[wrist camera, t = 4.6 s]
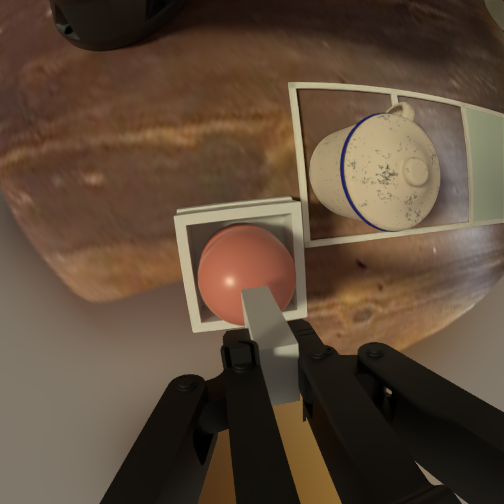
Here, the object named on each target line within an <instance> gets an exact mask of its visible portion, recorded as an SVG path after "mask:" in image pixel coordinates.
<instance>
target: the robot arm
mask: <svg viewBox="0 0 504 504" xmlns="http://www.w3.org/2000/svg"><path fill="white" fill-rule="evenodd" d="M49 1H50V6H51V10H52V14H53V18H54V22H55V25H56V27H57V29H58V31H59V32H60V34H61V35H62V36H63V37H65V38H66V39H67V40H68V41H69V42H70V43H71V44H73V45H74V46H76V47H79V48H81V49H85V50H93V51H101V50H110V49H115V48H119V47H123V46H126V45H129V44H132V43H134V42H136V41H139V40H141V39H143V38H145V37H147V36H148V35H150V34H152V33H154V32H155V31H157V30H158V29H160V28H161V27H162V26H164V25H165V24H166V23H167V22H168V21H169V20H171V19H172V18H173V17H174V16H175V15H176V13H177V12H178V11H179V10H180V9H181V7H182V6H183V4H184V2H185V1H186V0H49ZM241 298H242V306H243V314H244V322H245V329H238V330H230V331H226V333H225V334H224V336H223V346H222V347H221V350H220V351H221V356H222V362H223V368H224V371H223V372H222V373H221V374H220V375H219V376H217V377H215V378H213V379H210V380H207V381H205V380H204V379H203V378H202V377H200V376H199V375H193V374H189V375H182V376H179V377H177V378H175V379H173V380H172V381H171V382H170V383H169V385H168V387H167V388H166V390H165V391H164V393H163V395H162V397H161V398H160V400H159V402H158V403H157V405H156V407H155V409H154V410H153V412H152V414H151V415H150V417H149V419H148V421H147V422H146V424H145V426H144V428H143V429H142V431H141V433H140V435H139V436H138V438H137V440H136V441H135V443H134V445H133V447H132V448H131V450H130V452H129V453H128V455H127V457H126V459H125V460H124V462H123V464H122V466H121V468H120V469H119V471H118V472H117V474H116V476H115V478H114V480H113V481H112V483H111V485H110V486H109V488H108V490H107V492H106V493H105V495H104V497H103V499H102V500H101V502H100V504H197V503H198V500H199V497H200V494H201V490H202V487H203V484H204V480H205V477H206V474H207V471H208V468H209V464H210V461H211V457H212V455H213V451H214V448H215V445H216V441H217V437H218V432H220V431H223V430H226V429H229V437H230V448H231V458H232V468H233V476H234V486H235V494H236V503H237V504H300V500H299V497H298V494H297V491H296V487H295V484H294V481H293V477H292V474H291V470H290V467H289V464H288V460H287V457H286V454H285V450H284V447H283V443H282V440H281V436H280V433H279V429H278V426H277V422H276V419H275V415H274V412H273V408H272V406H273V405H278V404H284V403H289V402H295V401H299V400H300V393H301V395H302V398H303V422H304V421H306V417H307V419H308V422H309V424H310V427H311V429H312V432H313V434H314V437H315V439H316V442H317V444H318V447H319V449H320V451H321V454H322V456H323V459H324V461H325V464H326V466H327V469H328V471H329V473H330V476H331V478H332V481H333V483H334V486H335V488H336V491H337V493H338V495H339V498H340V500H341V503H342V504H462V503H461V502H460V501H459V499H458V498H457V496H456V495H455V494H457V495H458V496H459V497H460V498H462V499H463V500H464V501H466V502H467V503H468V504H504V412H502V411H501V410H499V409H497V408H495V407H493V406H492V405H490V404H488V403H486V402H485V401H483V400H481V399H479V398H478V397H476V396H474V395H472V394H471V393H469V392H467V391H465V390H464V389H462V388H460V387H459V386H457V385H455V384H453V383H451V382H450V381H448V380H446V379H445V378H443V377H441V376H439V375H438V374H436V373H434V372H433V371H431V370H429V369H427V368H426V367H424V366H422V365H421V364H419V363H417V362H415V361H414V360H412V359H410V358H409V357H407V356H405V355H404V354H402V353H400V352H398V351H397V350H395V349H393V348H392V347H390V346H388V345H386V344H383V343H378V342H371V343H367V344H364V345H362V346H361V347H360V348H359V349H358V355H339V354H338V352H337V351H336V350H335V349H334V348H333V347H330V346H328V345H324V344H323V342H322V341H321V339H320V338H319V337H318V335H317V334H316V332H315V331H314V329H313V328H312V326H311V325H310V323H309V322H307V321H305V320H303V319H299V320H293V321H286V320H285V318H284V316H283V314H282V312H281V310H280V308H279V306H278V304H277V303H276V301H275V299H274V297H273V295H272V293H271V291H270V289H269V287H268V286H262V287H255V288H247V289H241ZM387 388H388V389H389V390H391V391H392V394H389V393H387V392H386V389H387ZM415 461H416V462H417V463H418V464H419V465H420V466H422V467H423V468H424V469H425V470H427V471H428V472H429V473H430V474H431V475H433V476H434V477H435V478H436V479H438V480H439V481H440V482H442V483H443V484H444V485H435V486H434V485H432V484H431V483H430V482H429V481H428V480H427V478H426V477H425V475H424V474H423V473H422V471H421V470H420V468H419V467H418V465H417V464H416V462H415ZM454 493H455V494H454Z"/></svg>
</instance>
